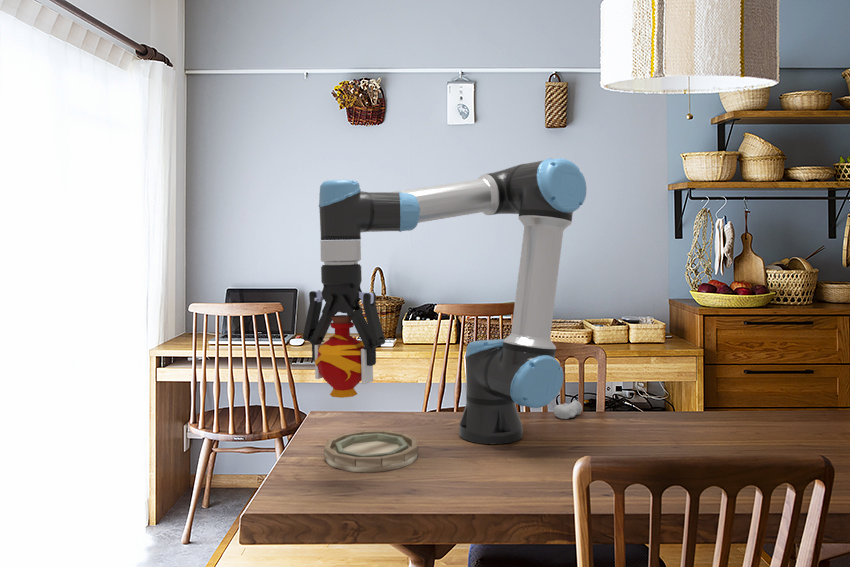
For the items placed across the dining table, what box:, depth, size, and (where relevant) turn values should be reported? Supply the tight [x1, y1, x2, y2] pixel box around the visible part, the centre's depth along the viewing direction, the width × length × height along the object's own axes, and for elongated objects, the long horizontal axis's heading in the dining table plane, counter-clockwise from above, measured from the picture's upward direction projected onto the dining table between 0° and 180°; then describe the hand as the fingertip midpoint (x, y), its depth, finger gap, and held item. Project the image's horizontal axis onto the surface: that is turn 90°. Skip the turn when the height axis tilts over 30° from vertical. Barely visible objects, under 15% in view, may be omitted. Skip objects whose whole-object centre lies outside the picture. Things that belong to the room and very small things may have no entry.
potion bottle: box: [314, 314, 365, 399], centre depth 125 cm, size 10×10×15 cm
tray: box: [323, 429, 419, 473], centre depth 144 cm, size 20×20×3 cm
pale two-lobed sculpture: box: [553, 399, 583, 420], centre depth 174 cm, size 4×8×5 cm
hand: (343, 380), depth 126 cm, fingers closed on potion bottle, 10 cm apart
